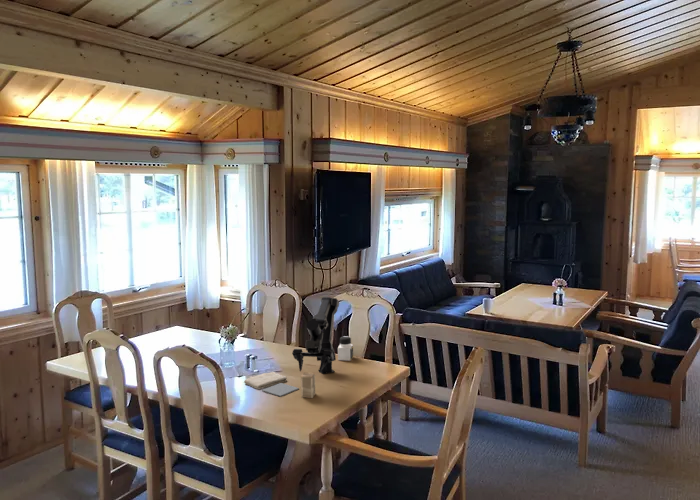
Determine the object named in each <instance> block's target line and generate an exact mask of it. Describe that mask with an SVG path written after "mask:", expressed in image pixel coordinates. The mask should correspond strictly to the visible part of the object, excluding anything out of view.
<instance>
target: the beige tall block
mask: <svg viewBox="0 0 700 500" xmlns="http://www.w3.org/2000/svg"><path fill="white" fill-rule="evenodd" d="M300 378H301V379H300V380H301V381H300V382H301V386H300V387H301V398H310V399H313V398H314V397H315V396H316V373H315V372H303V373H302V374H301V376H300Z"/></svg>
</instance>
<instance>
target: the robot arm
mask: <svg viewBox="0 0 700 500" xmlns="http://www.w3.org/2000/svg"><path fill="white" fill-rule="evenodd" d="M320 301H321V303H320V305H319V307H318V312H317V314H315V315H313V317H312V318H311V320H309V321H308V322H307V323H306V329H307V330H308V334H309V335H310V336H309V337H310V338H309V340H305V346H304V348H306V349H305V351H303V349H302V348H294V349H293V350H292V354H291V355H292V356H293V358H294V359H295V360H296V361H298V368H299V369H298V370H299V372H302V369H303V364H304V357H310V358H311V357H312V358H316V361H317V362H318V361H320V364H319V369H318V372H319V373H321V374H323V375H326V374H331V373H335V370H333V362H335V361H336V353H335V350H334V347H333V345H332V341H331V340H332V335H333V324H334V316H335V314H336V313H338V308H339V306H340V301H339V299H337V298H336V297H332V296H329V297H328V296H323V297H321V299H320Z"/></svg>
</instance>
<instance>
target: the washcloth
mask: <svg viewBox="0 0 700 500" xmlns="http://www.w3.org/2000/svg"><path fill="white" fill-rule="evenodd" d="M243 381H244V382H243V383H244V384H245V385H247V386H250V387H252V388H254V389H255V390H263V389H266V388H269V387H271V386H274V385H276V384H279V383H285V382H287V381H288V379H287V376H285V375H282V374H279V373H278V372H274V371H271V372H267V373H266V372H263V373H261V374H258V375H254V376H251V377H247V378H246V379H244V380H243Z"/></svg>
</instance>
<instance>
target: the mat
mask: <svg viewBox="0 0 700 500" xmlns="http://www.w3.org/2000/svg"><path fill="white" fill-rule="evenodd" d="M298 390H300V388H299V387H296V386H293V385H289V384H286V383H284V382H281V383H278V384H275V385H271V386H268V387H265V388H263V389H261V391H262V392H263V393H267V394H269V395H274V396H277V397H283V396H286V395H289V394H290V393H294V392H296V391H298Z"/></svg>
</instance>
